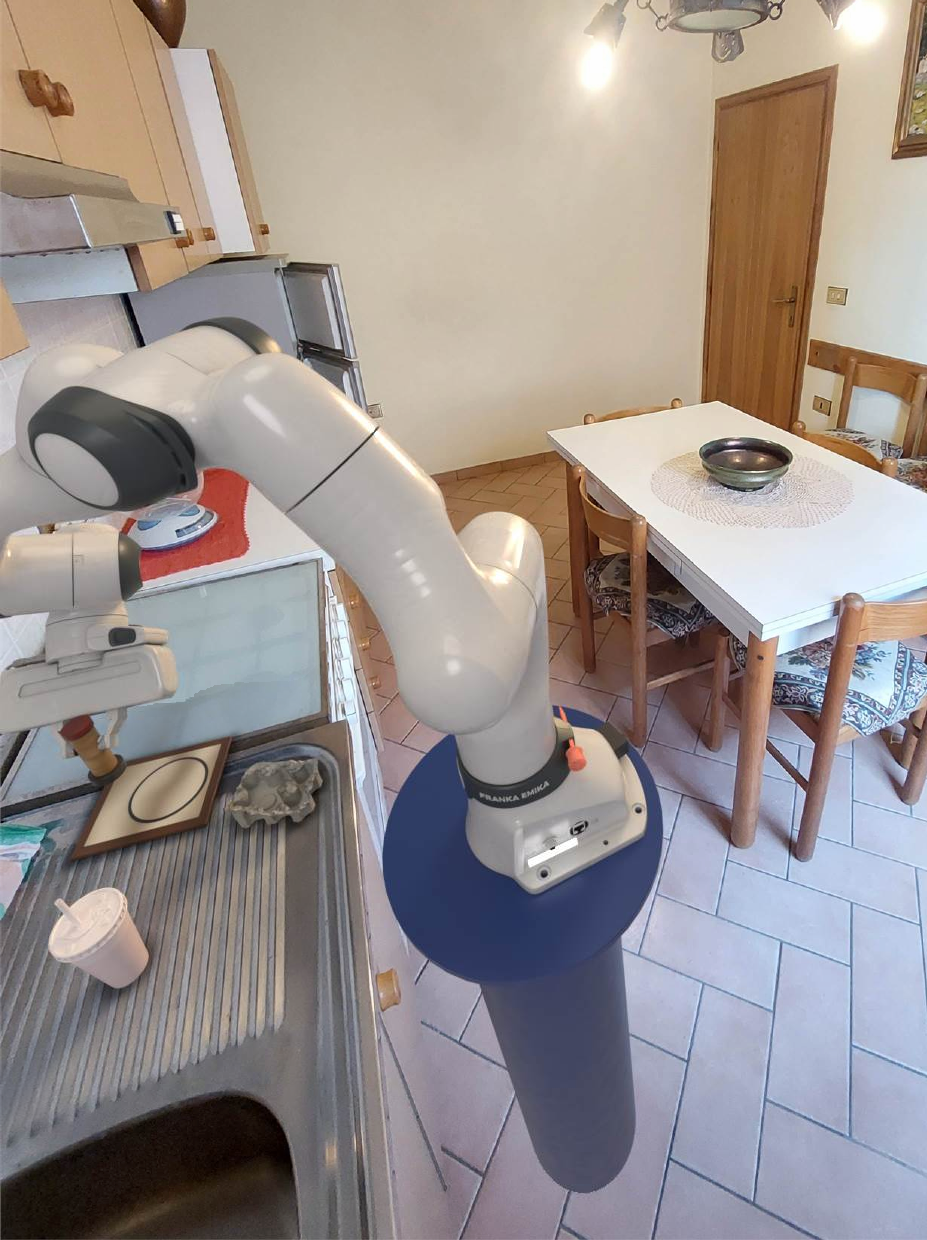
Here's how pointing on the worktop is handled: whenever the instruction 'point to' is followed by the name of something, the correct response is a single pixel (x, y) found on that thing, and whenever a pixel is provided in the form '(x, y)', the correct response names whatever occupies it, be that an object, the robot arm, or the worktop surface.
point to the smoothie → (99, 938)
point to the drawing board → (156, 798)
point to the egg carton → (276, 792)
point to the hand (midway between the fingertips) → (90, 753)
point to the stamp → (93, 751)
